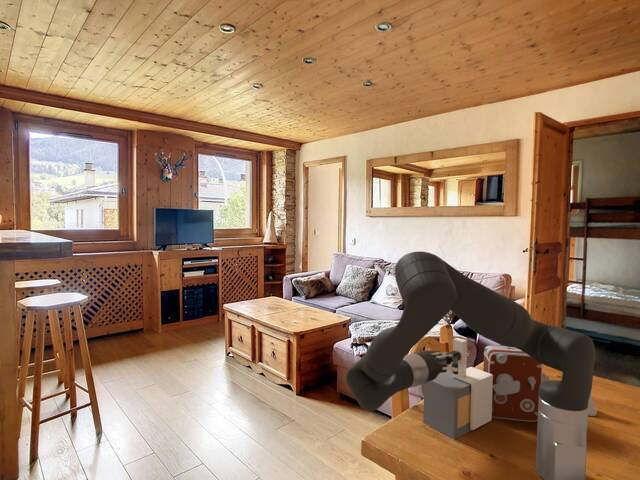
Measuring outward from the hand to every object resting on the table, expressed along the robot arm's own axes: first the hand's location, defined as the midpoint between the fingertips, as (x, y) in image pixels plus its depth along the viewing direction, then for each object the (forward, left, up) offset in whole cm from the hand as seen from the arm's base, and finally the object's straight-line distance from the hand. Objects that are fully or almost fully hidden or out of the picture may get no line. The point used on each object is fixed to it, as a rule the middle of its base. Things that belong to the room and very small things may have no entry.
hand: (457, 354), depth 103 cm
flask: (+16, -39, -20) cm, 47 cm away
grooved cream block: (+2, -4, -19) cm, 20 cm away
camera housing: (+3, -2, -20) cm, 20 cm away
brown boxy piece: (+9, -19, -20) cm, 29 cm away
